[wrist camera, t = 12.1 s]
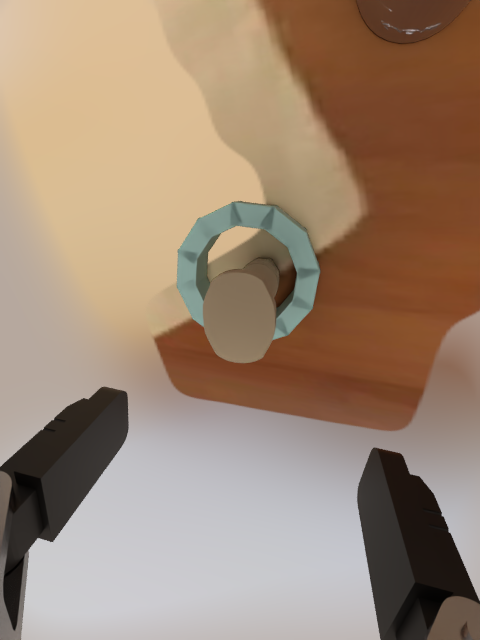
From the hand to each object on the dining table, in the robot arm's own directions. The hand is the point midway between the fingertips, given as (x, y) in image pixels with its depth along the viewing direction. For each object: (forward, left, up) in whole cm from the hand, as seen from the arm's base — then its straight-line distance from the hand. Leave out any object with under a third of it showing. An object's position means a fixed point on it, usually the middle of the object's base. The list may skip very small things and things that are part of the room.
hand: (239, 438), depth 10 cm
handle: (+1, -2, -26) cm, 26 cm away
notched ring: (+1, -4, -26) cm, 26 cm away
